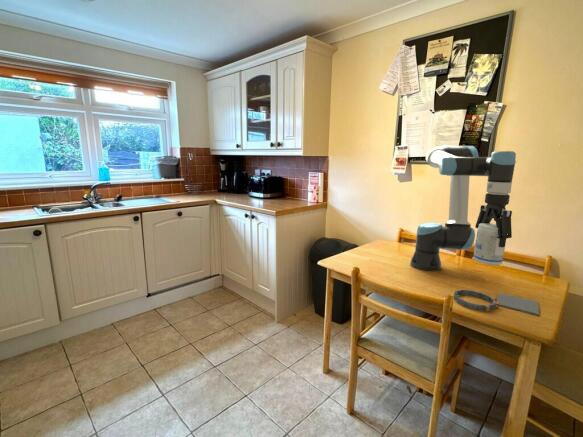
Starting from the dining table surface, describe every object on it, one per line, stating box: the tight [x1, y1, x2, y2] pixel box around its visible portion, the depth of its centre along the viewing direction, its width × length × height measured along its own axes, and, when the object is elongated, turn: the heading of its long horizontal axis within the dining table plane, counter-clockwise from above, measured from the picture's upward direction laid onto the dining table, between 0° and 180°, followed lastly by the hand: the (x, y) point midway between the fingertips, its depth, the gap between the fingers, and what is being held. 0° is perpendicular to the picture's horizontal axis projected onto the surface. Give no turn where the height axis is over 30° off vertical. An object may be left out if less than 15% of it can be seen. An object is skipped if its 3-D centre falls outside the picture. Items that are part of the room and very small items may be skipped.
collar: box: [453, 289, 499, 313], centre depth 119 cm, size 15×14×2 cm
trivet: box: [496, 292, 540, 317], centre depth 118 cm, size 13×13×1 cm
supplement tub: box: [473, 222, 507, 266], centre depth 115 cm, size 10×10×15 cm
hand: (489, 250), depth 115 cm, fingers closed on supplement tub, 10 cm apart
